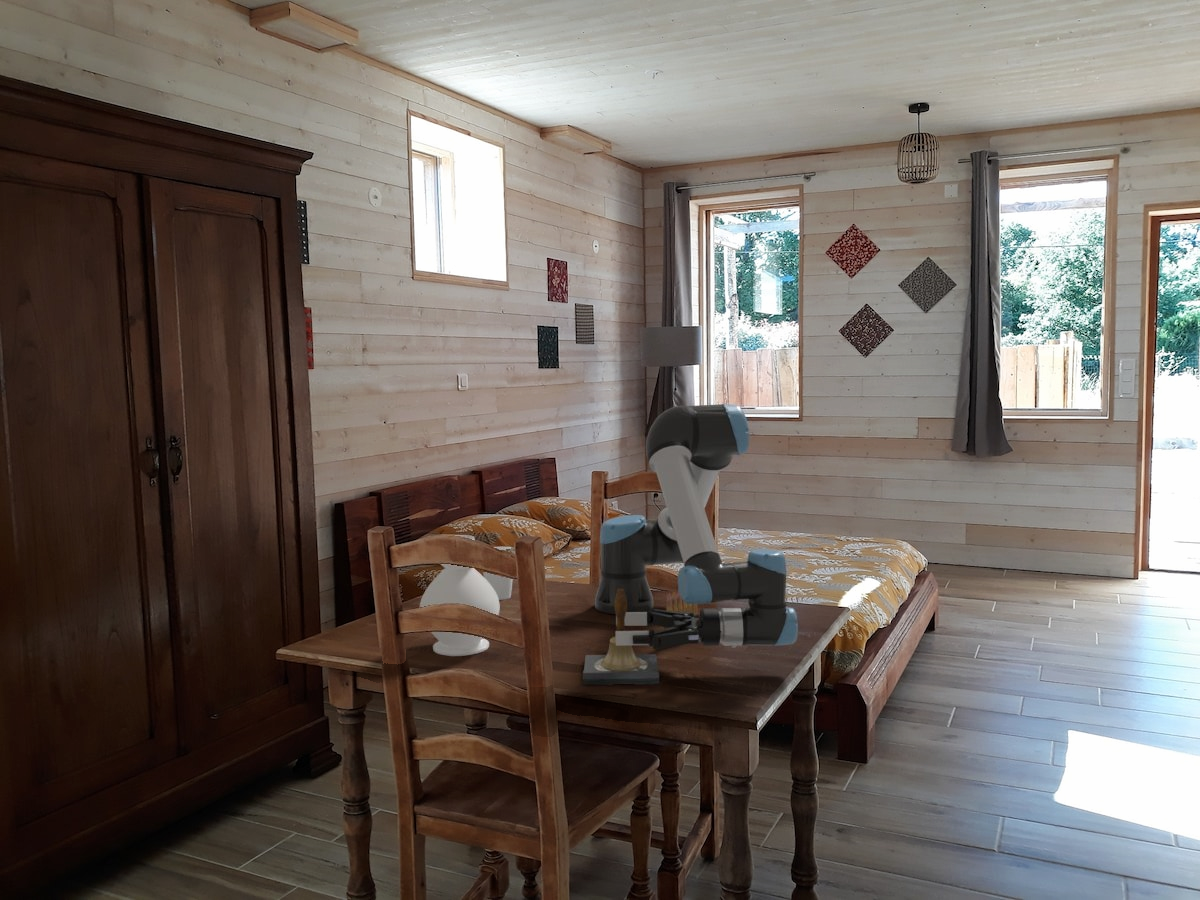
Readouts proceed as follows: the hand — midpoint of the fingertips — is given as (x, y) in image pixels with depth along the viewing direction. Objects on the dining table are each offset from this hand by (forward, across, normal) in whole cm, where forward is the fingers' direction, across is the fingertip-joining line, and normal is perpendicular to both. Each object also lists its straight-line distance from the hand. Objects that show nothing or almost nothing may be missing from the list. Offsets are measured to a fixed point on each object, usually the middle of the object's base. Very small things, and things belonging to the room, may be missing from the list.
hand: (615, 628), depth 190 cm
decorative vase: (+35, +18, -9) cm, 40 cm away
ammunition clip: (-15, +21, -9) cm, 27 cm away
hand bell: (-1, 0, -8) cm, 8 cm away
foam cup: (+32, +62, -9) cm, 70 cm away
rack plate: (-1, 0, -9) cm, 9 cm away
